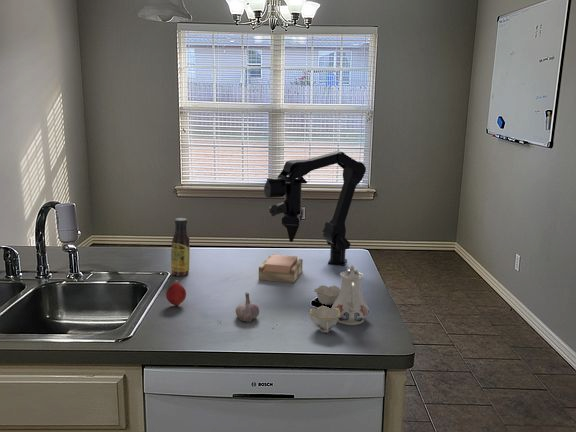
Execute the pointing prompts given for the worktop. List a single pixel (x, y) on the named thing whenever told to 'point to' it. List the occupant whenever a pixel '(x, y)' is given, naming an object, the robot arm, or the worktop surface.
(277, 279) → the birch box
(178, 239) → the sauce bottle
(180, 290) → the onion
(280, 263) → the cover plate
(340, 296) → the chinaware
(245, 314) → the garlic bulb
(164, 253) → the worktop surface
